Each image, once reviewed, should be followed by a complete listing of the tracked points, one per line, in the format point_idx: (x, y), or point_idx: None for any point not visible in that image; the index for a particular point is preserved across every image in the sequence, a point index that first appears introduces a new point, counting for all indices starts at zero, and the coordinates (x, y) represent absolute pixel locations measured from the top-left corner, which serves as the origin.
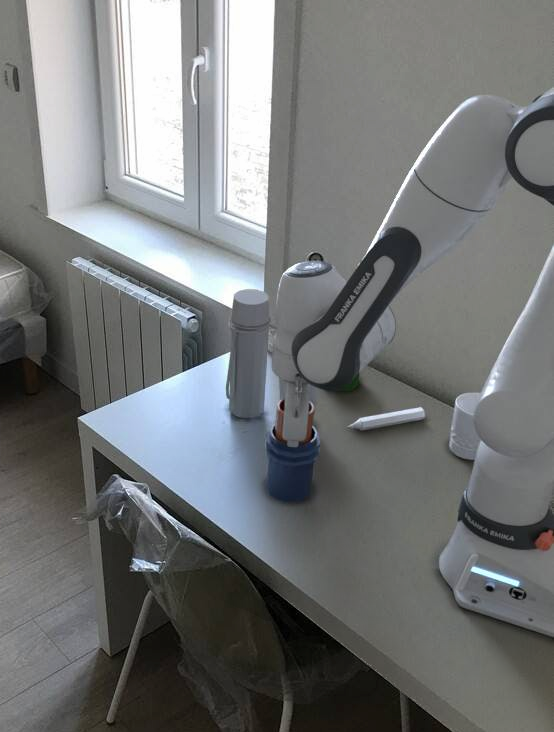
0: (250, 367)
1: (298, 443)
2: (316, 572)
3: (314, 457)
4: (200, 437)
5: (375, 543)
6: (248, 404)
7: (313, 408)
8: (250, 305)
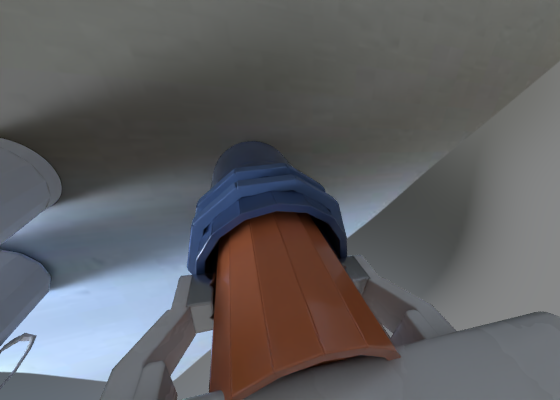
0: None
1: (366, 261)
2: (433, 134)
3: (308, 178)
4: (148, 306)
5: (403, 16)
6: (16, 297)
7: (342, 354)
8: None
